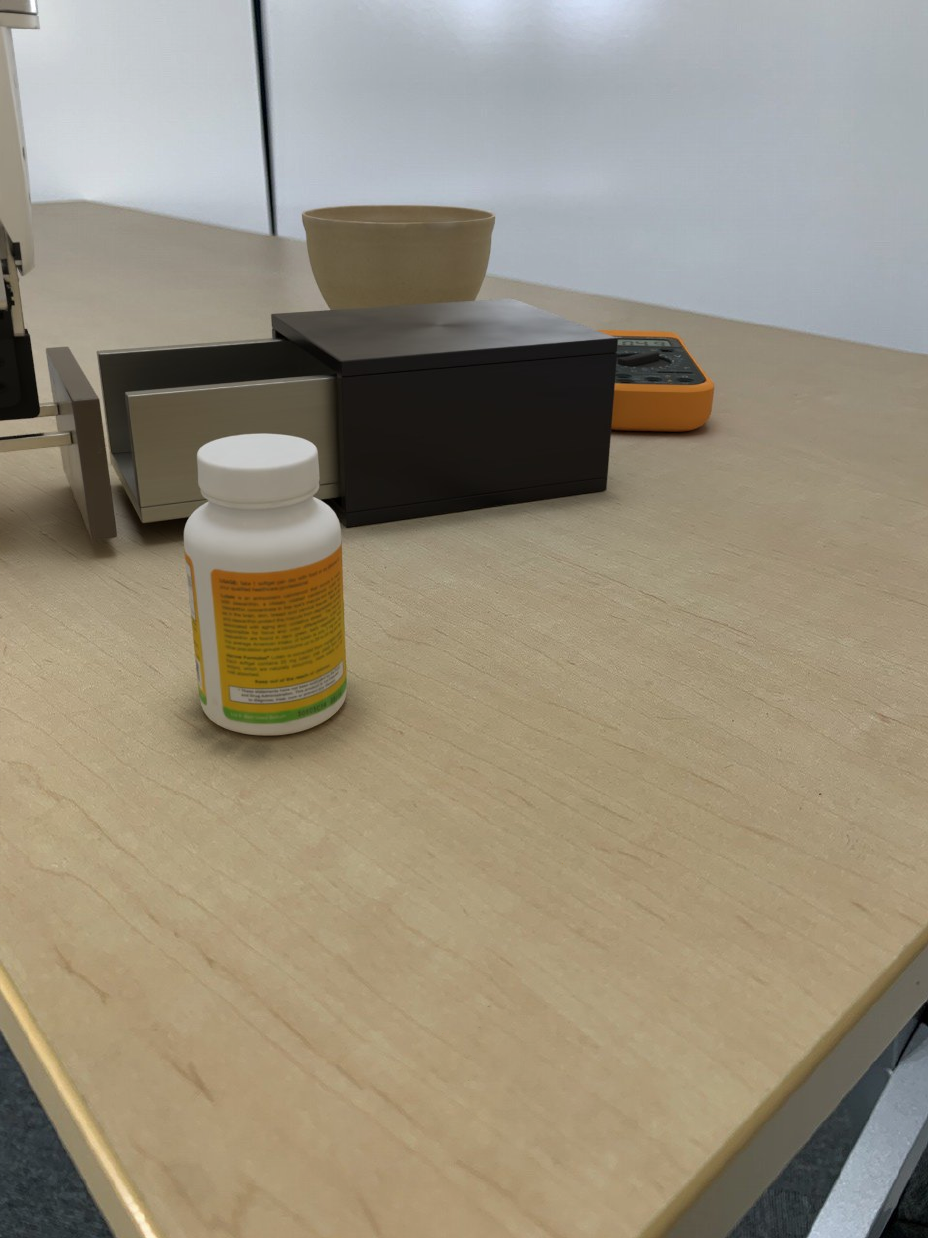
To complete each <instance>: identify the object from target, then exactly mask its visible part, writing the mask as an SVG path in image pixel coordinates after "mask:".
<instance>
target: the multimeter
mask: <svg viewBox="0 0 928 1238" xmlns="http://www.w3.org/2000/svg"><path fill="white" fill-rule="evenodd" d="M596 330H597V331H600V332H602V333H605V334H608V335H610V336H613V337H616V338H618V346H617V352H616V353H617V363H616V376H615V388H614V401H613V414H612V427H611V430H614V431H634V432H636V431H637V432H669V433H670V432H672V433H673V432H674V433H675V432H678V433H679V432H690V431H693V430H696V429H698V428H700V427H702V426H703V425H705V424H706V422H707V421H708V420H709V419H710V417H711V414H712V409H713V401H714V393H715V382H713V380H712V379H711V378H710V377H709V376H708V374H707V373H706V372H705V371H704V370H703V368H702V367H701V366H700V365H699V363H698V362H697V361H696V359H695V358H694V357H693V355H692V353H690V351H689V349H688V348H687V346H686V344H685V342H684V340H683V338H682V337H680V335H678V334H676V333H675V332H672V331H663V330H626V329H625V330H624V329H623V330H622V329H596Z"/></svg>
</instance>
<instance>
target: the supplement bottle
mask: <svg viewBox="0 0 928 1238" xmlns="http://www.w3.org/2000/svg"><path fill="white" fill-rule="evenodd" d="M197 465H198V485H199V487H200V488H201V494H202V495H203V497H204V498H206V499H207V500H208V502H207V503H205V504H203V505H202V506H200V507H199V508H198V509H196V510H195V511H194V512H193V513H192V515H191V516H190V517H188V519H187V520H186V523H185V525H184V529H183V550H184V559H185V560H184V561H185V570H186V579H187V588H188V599H189V609H190V618H191V629H192V639H193V649H194V657H195V658H194V660H195V670H196V679H197V688H198V694H199V701H200V705H201V709H202V711H203V712H204V714H205V715H206V717H207V718H208V719H209V720H210V721H212V722H213V723H215V724H216V725H218V726H219V727H221V728H224V729H226V730H229V731H232V732H236V733H240V734H243V735H244V734H245V735H250V736H251V735H253V736H285V735H290V734H291V735H292V734H296V733H300V732H304V731H307V730H309V729H312V728H315V727H316V726H318V725H321V724H322V723H324V722H326V721H328V720H329V719H330V718H331V717H333V716H334V715H335V714H336V713H337V712H338V711H340V709H341V708H342V706H343V704H344V703H345V700H346V697H347V691H348V682H347V681H348V679H347V678H348V677H347V655H346V654H347V653H346V652H347V650H346V630H345V628H346V627H345V601H344V570H343V542H342V541H343V540H342V527H341V522H340V520H339V519H338V518H337V516H336V514H335V512H334V511H333V510H332V509H331V508H330V507H329V506H328V505H327V504H325V503H324V502H322V501H321V500H319V499H317V498H315V497H313V495H314V494H315V493H316V492H317V491H318V489H319V463H318V451H317V448H316V446H315V445H314V444H313V443H311V442H309V441H308V440H305V439H302V438H299V437H294V436H288V435H280V434H244V435H236V436H230V437H225V438H221V439H217V440H214V441H211V442H209V443H207V444H205V445H204V446H202V447H201V448H200V449H199V450H198V453H197Z"/></svg>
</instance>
